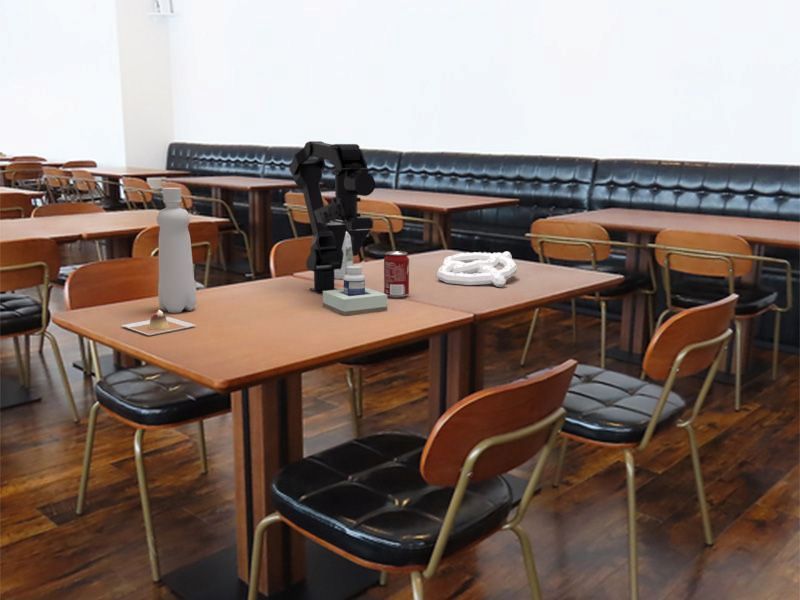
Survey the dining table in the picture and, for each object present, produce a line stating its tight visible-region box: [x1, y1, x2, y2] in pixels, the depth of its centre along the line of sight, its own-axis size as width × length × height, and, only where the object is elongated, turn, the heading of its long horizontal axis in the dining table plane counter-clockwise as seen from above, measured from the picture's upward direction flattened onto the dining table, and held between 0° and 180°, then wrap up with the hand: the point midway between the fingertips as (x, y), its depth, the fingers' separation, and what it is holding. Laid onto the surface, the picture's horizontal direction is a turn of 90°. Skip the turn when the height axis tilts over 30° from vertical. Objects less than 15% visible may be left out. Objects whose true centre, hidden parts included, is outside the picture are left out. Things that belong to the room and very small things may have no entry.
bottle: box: [155, 187, 198, 314], centre depth 189 cm, size 9×9×30 cm
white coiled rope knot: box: [436, 251, 518, 288], centre depth 237 cm, size 28×24×6 cm
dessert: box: [120, 309, 197, 337], centre depth 174 cm, size 12×12×5 cm
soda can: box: [383, 250, 410, 299], centre depth 209 cm, size 7×7×12 cm
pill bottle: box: [343, 264, 366, 296], centre depth 194 cm, size 5×5×10 cm
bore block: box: [322, 286, 388, 317], centre depth 195 cm, size 12×12×4 cm
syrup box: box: [334, 231, 354, 280], centre depth 236 cm, size 6×6×14 cm
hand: (346, 253), depth 202 cm, fingers open, 9 cm apart
